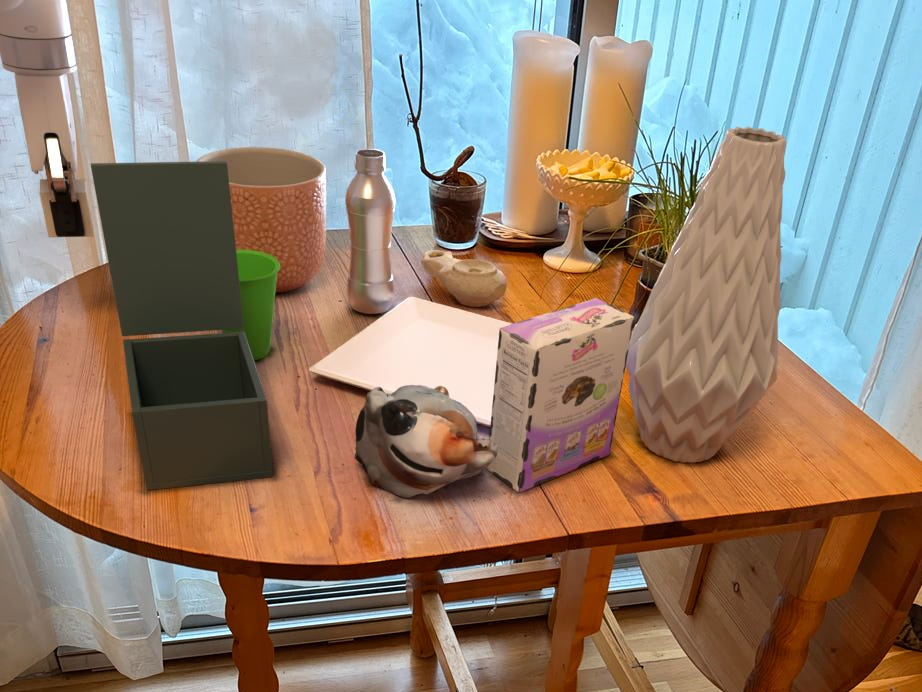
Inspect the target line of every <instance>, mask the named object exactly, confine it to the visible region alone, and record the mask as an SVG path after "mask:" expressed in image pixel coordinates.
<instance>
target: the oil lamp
mask: <svg viewBox="0 0 922 692" xmlns="http://www.w3.org/2000/svg"><path fill="white" fill-rule="evenodd" d="M421 266H422V268H423V270H424V271H425V272H426V273H427V274H428V275H429V276H432V277H433V278H435V279H439V281H440V283H441V285H443V286H444V287H445V288H446V290H447V291H448V292H449V293H450V294H451V295H452V296H453V297H455V299H456V301H457V302H458V303H459V304H461V305H463V306H465V307H471V308H473V307H474V308H478V307H480V308H481V307H486V306H488V305H490V303H492V302H495V301H498V300H500V299H501V298H502V297H503V296H505V294H506V291H507V287H508V285H507V284H508V282H507V278H506V276H505V274H504V273H503V272H502V271H501V270H500V269H499V268H497V266H496V265H495V264H493V263H492V262H489V261H486V260H483V259H473V258H472V259H471V258H470V259H458V258H455V257H454V256H453V253H452V252H451V251H443V250H440V249H436V250H435V249H434V250H432V249H431V250H426V251H425V252H424V253H423V258H422V260H421Z"/></svg>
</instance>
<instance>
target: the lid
mask: <svg viewBox="0 0 922 692" xmlns="http://www.w3.org/2000/svg"><path fill="white" fill-rule="evenodd" d="M90 169H91V175H92V180H93V185H94V191H95V195H96V201H97V202H96V203H97V208H98V213H99V216H100V217H99V219H100V224H101V229H102V235H103V240H104V244H105V245H104V246H105V250H106V256H107V263H108V267H109V272H110V278H111V283H112V289H113V294H114V301H115V306H116V312H117V316H118V321H119V328H120V332H121V337H134V336H135V337H136V336H149V335H150V336H152V335H165V334H166V335H167V334H181V333H196V332H197V333H199V332H212V331H213V332H215V331H222V330H229V329H244V322H243V312H242V302H241V293H240V283H239V273H238V264H237V254H236V244H235V235H234V225H233V215H232V206H231V196H230V186H229V177H228V167H227V162H226V161H207V162H196V161H161V162H160V161H156V162H155V161H153V162H147V161H145V162H97V163H96V162H91V163H90Z"/></svg>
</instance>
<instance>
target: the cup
mask: <svg viewBox="0 0 922 692" xmlns="http://www.w3.org/2000/svg"><path fill="white" fill-rule="evenodd" d="M236 254H237V264H238V273H239V283H240V293H241V302H242V312H243V322H244V329H229V330H221V333H232V332H244V333H245V336H246V339H247V342H248V345H249V348H250V351H251V354H252V357H253V360H254V361H257V360H258V361H259V360H261V359H264V358H266V357H267V356H268V355H269V352H270V350H271V346H272V345H271V344H272V336H273V335H272V333H273V323H274V313H275V312H274V311H275V303H276V302H275V300H276V293H275V290H276V279H277V272H278V271H279V269H280V263H279V262H278V260H277V259H276V258H274V257H273V256H271V255H269V254H266V253H263V252H259V251H252V250H236Z"/></svg>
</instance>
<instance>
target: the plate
mask: <svg viewBox="0 0 922 692" xmlns="http://www.w3.org/2000/svg"><path fill="white" fill-rule="evenodd" d="M510 324H513V323H512V322H508V321H505V320H501V319H497V318H494V317H489V316H486V315H483V314H479V313H475V312H471V311H467V310H464V309H460V308H456V307H453V306H449V305H446V304H441V303H438V302H434V301H430V300H426V299H423V298H418V297H415V296H408V297H407V298H406V299H404V300H403V301H401V302H400V303H398V304H397V305H396V306H395V307H393V308H391V309H389V310H388V312H387V311H386V313H384V314H383V315H382V316H380V317H379V318H377V319H376V320H375V321H373V322H372V323H370V324H369V325H368V326H367V327H365V328H363V329H362V330H360V331H359V332H358V333H356V334H355V335H353V337H351V338H350V339H348V340H347V341H345V342H344V343H343V344H341V345H340V346H339V347H337V348H335V349H334V350H333V351H331V352H330V353H328V354H327V355H326V356H325V357H323V358H322V359H320V360H319V361H317V362H316V363H314V364H313V365H312V366H310V367H309V368H308V370H309V372H311V374H314V375H317V376H319V377H323V378H326V379H330V380H333V381H336V382H338V383H339V382H340V383H343V384H345V385H350V386H353V387H356V388H360V389H363V390H366V391H369V392H371V391H372V390H373V389H374V388H376V387H381V388H382V389H383V391H384V392H385V393H390V394H392V393H393V392H395V391H396V390H397V389H398V388H400V387H402V386H407V385H416V386H417V385H422V386H427V387H428V388H433V389H435V388H436V387H438V386H443V387H445V388H446V389H447V390H448V393H449V398H451V399H453V400H456V401H458V402H460V403H461V404H463V405H464V406H465V407H467V409H468V410H469V411H470V412H471V413H472V414H473V415H474V417H475V418H476V421H477V424H479V425H482V426H485V427H489V428H490V426H491V416H492V404H493V395H494V384H495V372H496V362H497V352H498V341H499V330H500V327H503V326H506V325H510Z"/></svg>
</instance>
